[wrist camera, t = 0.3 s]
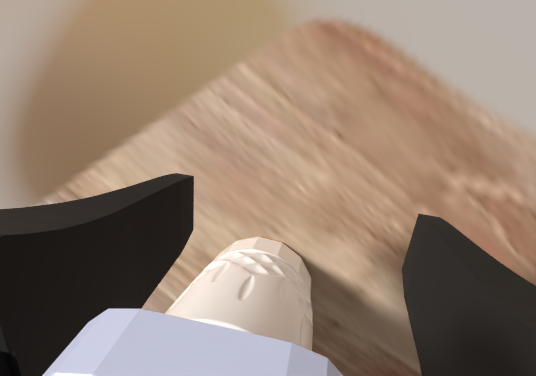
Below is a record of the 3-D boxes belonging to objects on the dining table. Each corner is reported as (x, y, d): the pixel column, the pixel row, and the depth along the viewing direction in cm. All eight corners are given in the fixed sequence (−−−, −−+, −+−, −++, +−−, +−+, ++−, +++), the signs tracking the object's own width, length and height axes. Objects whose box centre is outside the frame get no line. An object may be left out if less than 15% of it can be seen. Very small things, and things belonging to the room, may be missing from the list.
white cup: (222, 340, 26) (156, 481, 17) (190, 238, 25) (98, 331, 15) (332, 328, 25) (328, 479, 15) (306, 217, 23) (282, 308, 14)
